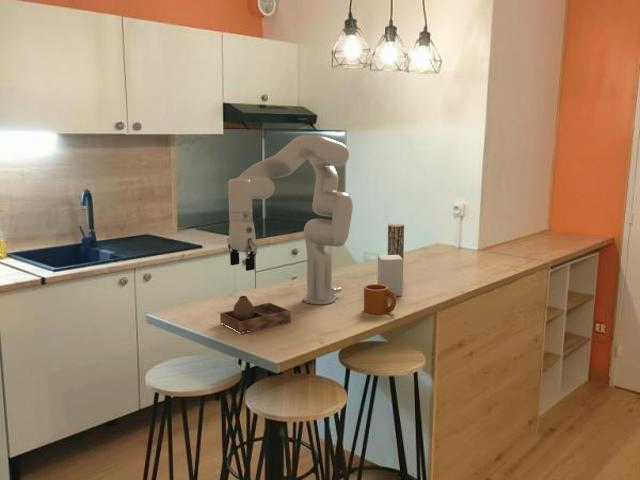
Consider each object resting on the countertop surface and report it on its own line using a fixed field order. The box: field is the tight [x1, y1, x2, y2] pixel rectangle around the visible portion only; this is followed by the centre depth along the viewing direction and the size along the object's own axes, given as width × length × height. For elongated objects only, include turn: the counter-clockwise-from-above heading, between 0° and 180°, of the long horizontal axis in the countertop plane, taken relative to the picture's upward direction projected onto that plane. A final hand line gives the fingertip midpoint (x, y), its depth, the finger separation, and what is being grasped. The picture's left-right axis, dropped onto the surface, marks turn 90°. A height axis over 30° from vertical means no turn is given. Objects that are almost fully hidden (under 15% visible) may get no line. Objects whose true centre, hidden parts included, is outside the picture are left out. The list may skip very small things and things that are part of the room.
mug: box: [363, 283, 397, 315], centre depth 220 cm, size 9×12×9 cm
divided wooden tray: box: [219, 302, 292, 333], centre depth 208 cm, size 20×13×4 cm, turn 128°
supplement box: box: [377, 254, 404, 297], centre depth 244 cm, size 9×9×15 cm
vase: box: [233, 295, 254, 321], centre depth 205 cm, size 7×7×9 cm
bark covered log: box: [387, 222, 405, 260], centre depth 261 cm, size 7×7×25 cm
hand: (242, 267), depth 202 cm, fingers open, 9 cm apart
